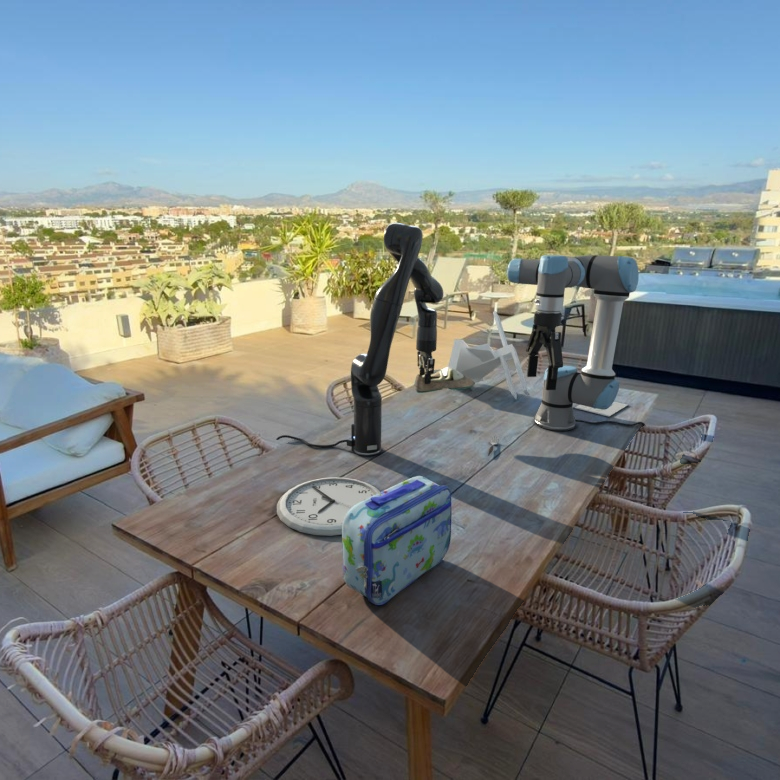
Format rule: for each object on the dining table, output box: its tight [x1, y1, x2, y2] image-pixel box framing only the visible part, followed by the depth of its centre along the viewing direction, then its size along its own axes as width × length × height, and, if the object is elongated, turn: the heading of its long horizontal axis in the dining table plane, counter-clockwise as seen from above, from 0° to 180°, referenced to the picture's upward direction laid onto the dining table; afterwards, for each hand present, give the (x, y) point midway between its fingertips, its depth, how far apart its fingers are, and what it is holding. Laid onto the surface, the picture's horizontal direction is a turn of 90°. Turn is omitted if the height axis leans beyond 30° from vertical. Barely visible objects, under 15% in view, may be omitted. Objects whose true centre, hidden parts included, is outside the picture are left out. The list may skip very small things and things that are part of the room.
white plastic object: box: [438, 310, 531, 400], centre depth 245 cm, size 37×45×31 cm
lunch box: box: [341, 475, 453, 606], centre depth 111 cm, size 26×11×21 cm, turn 134°
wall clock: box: [276, 476, 382, 537], centre depth 142 cm, size 30×2×30 cm
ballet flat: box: [413, 368, 476, 394], centre depth 200 cm, size 8×25×8 cm, turn 106°
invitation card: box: [573, 401, 629, 418], centre depth 226 cm, size 21×1×15 cm
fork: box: [487, 436, 500, 456], centre depth 181 cm, size 3×16×2 cm, turn 160°
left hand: (424, 381), depth 199 cm, fingers closed on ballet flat, 5 cm apart
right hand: (540, 382), depth 155 cm, fingers open, 13 cm apart
